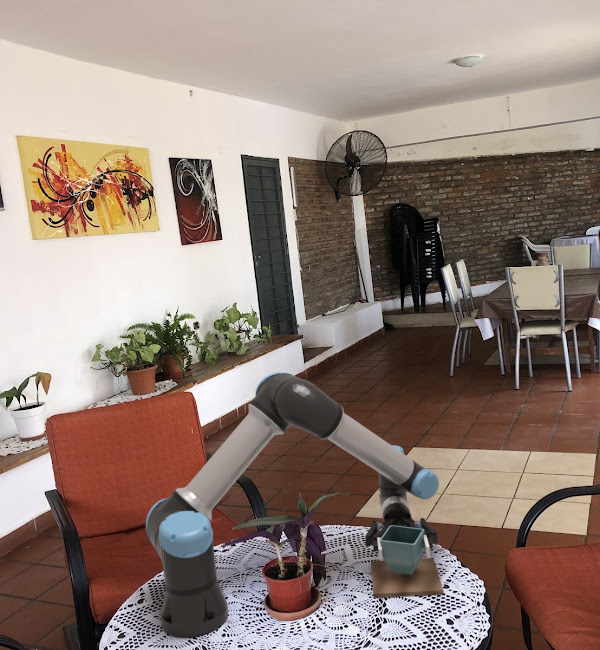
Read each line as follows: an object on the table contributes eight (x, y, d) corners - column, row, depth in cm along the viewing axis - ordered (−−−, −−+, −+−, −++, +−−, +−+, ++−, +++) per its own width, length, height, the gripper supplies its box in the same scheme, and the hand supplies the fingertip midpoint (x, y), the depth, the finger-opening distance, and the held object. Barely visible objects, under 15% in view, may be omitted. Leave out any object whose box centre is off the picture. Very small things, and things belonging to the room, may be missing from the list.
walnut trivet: (373, 597, 156) (373, 593, 156) (370, 564, 172) (370, 561, 172) (443, 594, 155) (443, 590, 155) (433, 561, 171) (433, 557, 171)
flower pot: (417, 580, 157) (415, 544, 156) (381, 575, 161) (378, 539, 160) (427, 563, 165) (424, 528, 164) (392, 558, 169) (390, 524, 168)
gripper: (440, 526, 180) (454, 566, 158) (354, 531, 181) (356, 571, 159) (439, 499, 179) (452, 535, 157) (352, 504, 180) (354, 541, 159)
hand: (404, 553), depth 158 cm, fingers closed on flower pot, 10 cm apart
